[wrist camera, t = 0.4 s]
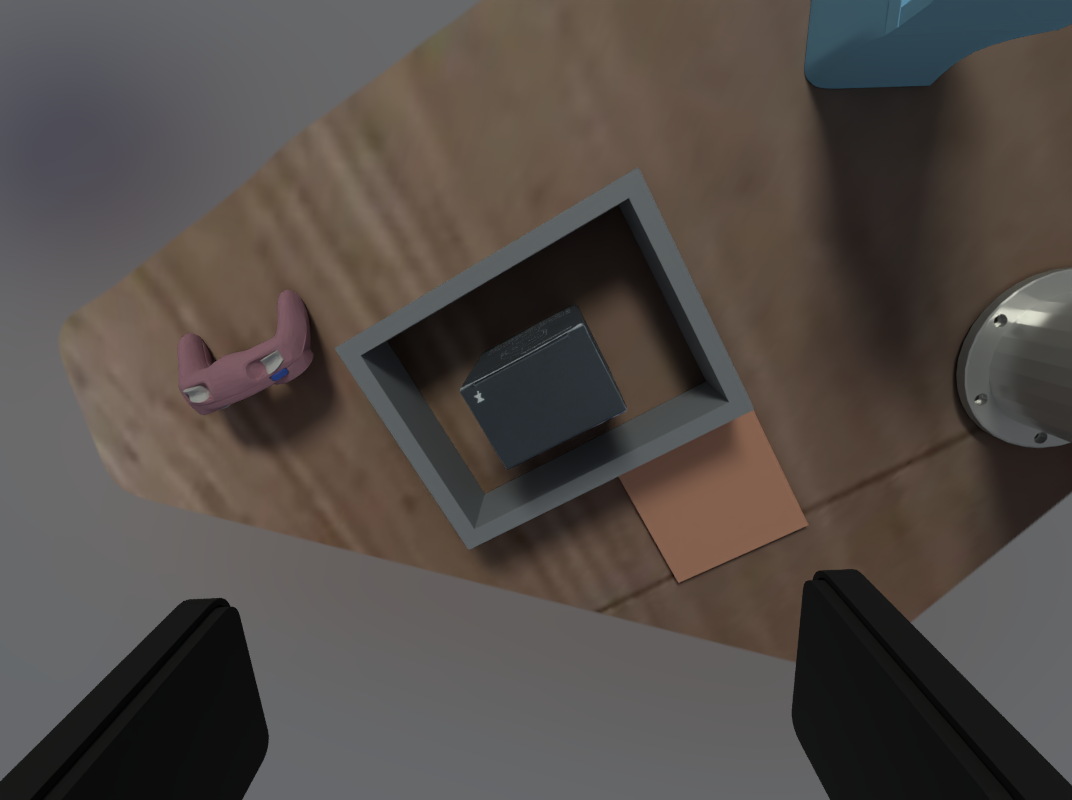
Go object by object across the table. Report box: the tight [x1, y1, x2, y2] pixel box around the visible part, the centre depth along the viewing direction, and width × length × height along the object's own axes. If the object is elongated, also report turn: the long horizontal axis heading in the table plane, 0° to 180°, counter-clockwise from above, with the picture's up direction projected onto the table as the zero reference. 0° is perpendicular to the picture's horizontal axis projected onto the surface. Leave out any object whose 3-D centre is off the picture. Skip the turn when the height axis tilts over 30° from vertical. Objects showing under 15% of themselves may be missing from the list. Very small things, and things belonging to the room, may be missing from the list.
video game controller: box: [178, 290, 314, 415], centre depth 37 cm, size 10×5×7 cm, turn 112°
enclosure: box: [335, 168, 754, 550], centre depth 37 cm, size 21×16×6 cm
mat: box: [618, 410, 808, 583], centre depth 41 cm, size 11×11×1 cm
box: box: [460, 305, 627, 470], centre depth 34 cm, size 8×6×11 cm
